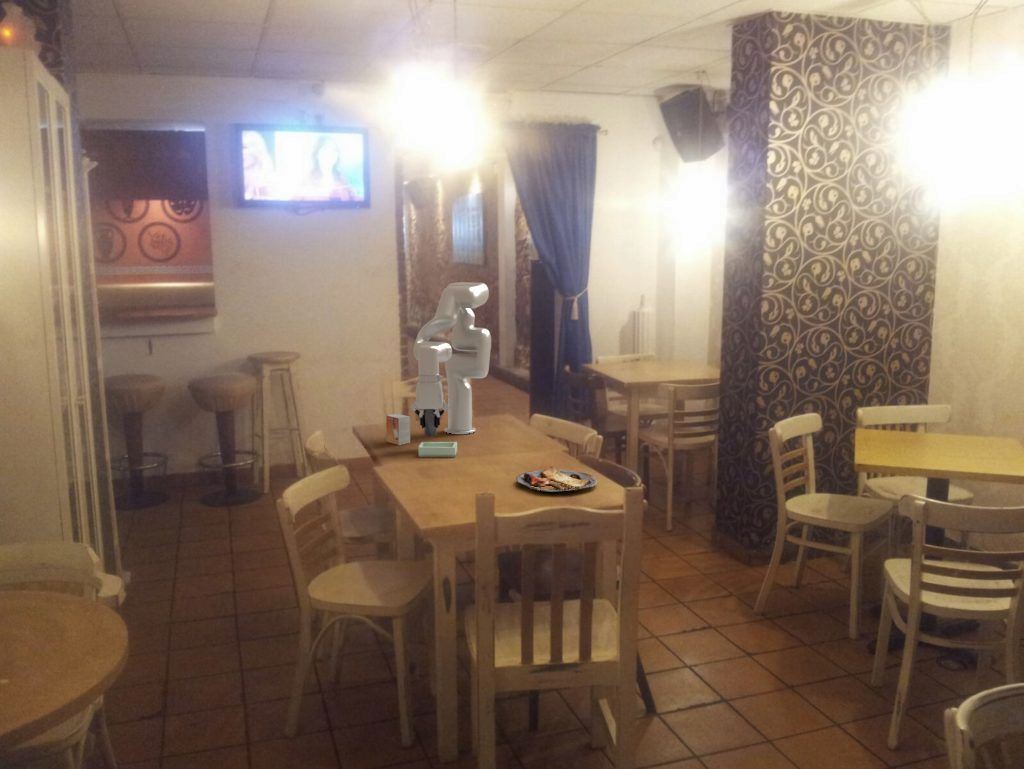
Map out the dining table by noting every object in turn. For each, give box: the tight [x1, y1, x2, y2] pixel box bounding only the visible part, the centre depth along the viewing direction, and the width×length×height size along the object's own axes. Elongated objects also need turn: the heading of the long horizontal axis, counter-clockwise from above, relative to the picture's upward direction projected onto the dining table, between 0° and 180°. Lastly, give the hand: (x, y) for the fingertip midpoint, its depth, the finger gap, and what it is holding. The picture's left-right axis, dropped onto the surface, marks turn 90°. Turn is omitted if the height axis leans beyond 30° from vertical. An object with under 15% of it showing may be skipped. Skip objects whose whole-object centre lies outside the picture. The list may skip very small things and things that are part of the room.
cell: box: [423, 409, 437, 437], centre depth 325 cm, size 4×4×11 cm
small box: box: [385, 413, 411, 446], centre depth 335 cm, size 8×6×10 cm
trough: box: [418, 441, 458, 458], centre depth 317 cm, size 9×13×4 cm
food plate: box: [515, 465, 598, 493], centre depth 276 cm, size 25×23×4 cm
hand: (430, 426), depth 326 cm, fingers closed on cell, 4 cm apart
